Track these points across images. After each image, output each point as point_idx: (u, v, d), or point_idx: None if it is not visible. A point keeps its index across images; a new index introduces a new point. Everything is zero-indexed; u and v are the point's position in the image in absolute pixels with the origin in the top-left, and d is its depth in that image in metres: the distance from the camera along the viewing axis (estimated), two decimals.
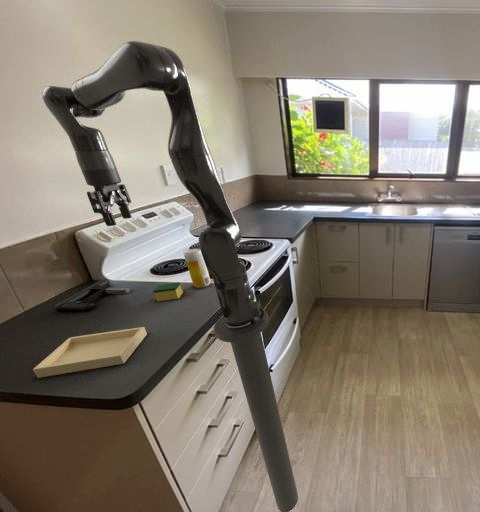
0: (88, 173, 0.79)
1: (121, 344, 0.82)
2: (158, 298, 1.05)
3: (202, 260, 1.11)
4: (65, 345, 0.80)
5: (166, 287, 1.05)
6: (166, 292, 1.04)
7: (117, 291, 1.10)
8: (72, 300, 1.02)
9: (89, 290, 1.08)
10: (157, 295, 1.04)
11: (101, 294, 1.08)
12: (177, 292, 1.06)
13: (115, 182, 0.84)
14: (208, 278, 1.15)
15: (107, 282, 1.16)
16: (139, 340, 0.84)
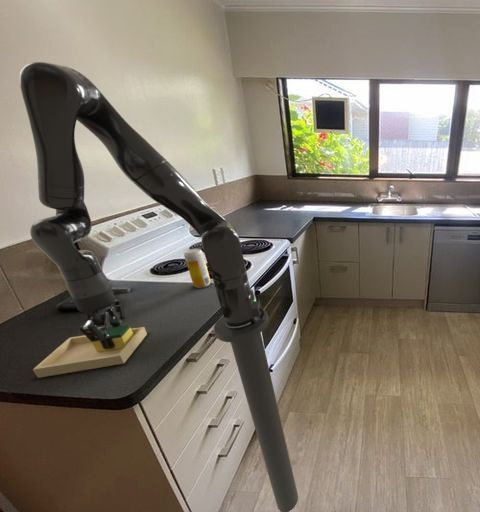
0: (79, 301, 0.72)
1: None
2: (98, 348, 0.79)
3: (202, 260, 1.11)
4: (65, 345, 0.80)
5: (109, 333, 0.79)
6: None
7: (117, 290, 1.11)
8: None
9: None
10: (96, 344, 0.78)
11: None
12: (124, 339, 0.80)
13: (109, 304, 0.76)
14: (208, 278, 1.15)
15: None
16: (139, 340, 0.84)
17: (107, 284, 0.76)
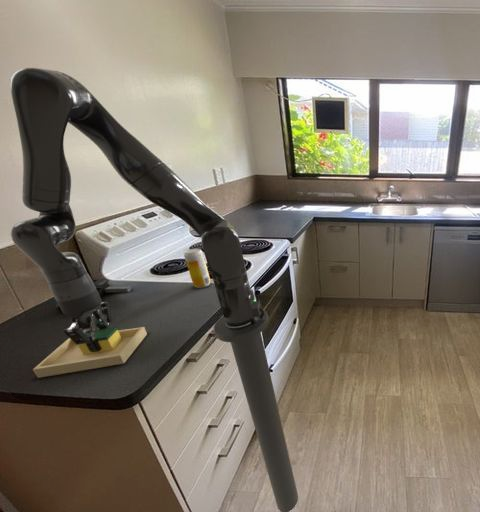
0: (63, 304, 0.71)
1: (121, 344, 0.82)
2: (84, 351, 0.78)
3: (202, 260, 1.11)
4: (65, 345, 0.80)
5: (95, 335, 0.79)
6: None
7: (117, 290, 1.11)
8: None
9: None
10: (82, 347, 0.78)
11: (101, 293, 1.09)
12: (111, 341, 0.80)
13: (94, 307, 0.75)
14: (208, 278, 1.15)
15: (105, 282, 1.16)
16: (139, 340, 0.84)
17: (92, 286, 0.75)
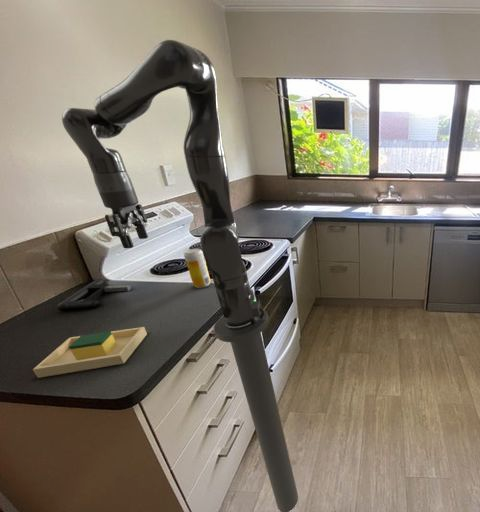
0: (106, 195, 0.77)
1: (121, 344, 0.82)
2: (77, 356, 0.76)
3: (202, 260, 1.11)
4: (65, 345, 0.80)
5: (89, 340, 0.77)
6: (89, 347, 0.76)
7: (117, 289, 1.11)
8: (73, 299, 1.02)
9: (87, 289, 1.08)
10: (76, 352, 0.76)
11: (101, 292, 1.09)
12: (105, 346, 0.78)
13: (133, 203, 0.81)
14: (208, 278, 1.15)
15: (102, 282, 1.16)
16: (139, 340, 0.84)
17: (131, 184, 0.81)
